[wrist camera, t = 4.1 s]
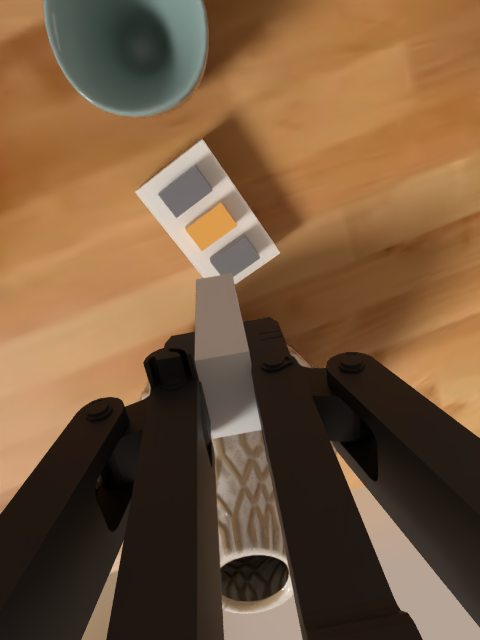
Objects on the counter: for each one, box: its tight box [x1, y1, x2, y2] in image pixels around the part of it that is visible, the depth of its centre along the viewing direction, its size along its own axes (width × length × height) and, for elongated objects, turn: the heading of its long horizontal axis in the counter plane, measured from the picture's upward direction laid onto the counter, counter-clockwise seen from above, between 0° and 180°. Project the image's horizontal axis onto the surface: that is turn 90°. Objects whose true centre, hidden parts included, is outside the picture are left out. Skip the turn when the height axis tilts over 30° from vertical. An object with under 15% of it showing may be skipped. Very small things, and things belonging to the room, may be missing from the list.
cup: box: [43, 0, 209, 118], centre depth 25 cm, size 8×8×10 cm
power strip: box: [135, 138, 280, 284], centre depth 33 cm, size 10×6×4 cm, turn 35°
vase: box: [138, 345, 336, 614], centre depth 32 cm, size 16×16×20 cm
